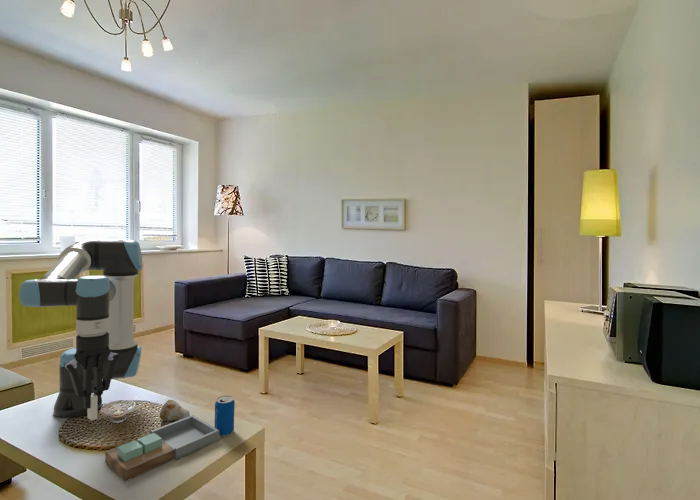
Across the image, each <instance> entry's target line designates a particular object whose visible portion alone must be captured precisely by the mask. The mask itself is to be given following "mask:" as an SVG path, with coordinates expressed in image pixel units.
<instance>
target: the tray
mask: <svg viewBox="0 0 700 500" xmlns="http://www.w3.org/2000/svg"><path fill="white" fill-rule="evenodd" d="M152 433H155V434H156V435H158V436H159V437H161V438H162V441H164V442H165V443H166V444H168V445H169V446H171V447H172V448H173V449H175V459H174V460H176V461H177V460H180V459H182V458H184V457H186V456H189V455H191V454H193V453H195V452H198V451H199V450H201V449H204V448H206V447H208V446H210V445H213V444H215V443H217V442H219V441H220V436H219V430H218V429H216V428H215V427H214V426H213V425H211V424H209V423H207V421H204V420H203V419H201V418H199V417H197V416H195V415H193V414H192V415H190V416H189V417H186V418H184V419H181V420H175V421H173V422H170V423H168V424H166V425H163V426H161V427H158V428H155V429H151V431H150V434H152Z"/></svg>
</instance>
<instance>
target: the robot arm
mask: <svg viewBox="0 0 700 500" xmlns="http://www.w3.org/2000/svg"><path fill="white" fill-rule="evenodd" d="M142 270H143V255H142V250H141V246H140V243H139V242H138V241H137V240H135V239H133V240H132V239H123V238H122V239H114V238H113V239H111V238H110V239H109V238H107V239H105V238H99V239H98V238H90V239H85V240H81V241H78V242H75V243H73V244H71V245H69V246H67V247H66V248H64V250H62V251H61V253H60V254H59V256H58V260H57V261H56V262H55V264H53V266H52V267H51V268H50V269H48V271H47V272H46V273H45V274H44V275H43V276H42V277H41V278H40V279H37V278H36V279H35V278H34V279H27V280H24V281H23V282H22V283H21V285H20V288H19V302H20V304H21V305H22V306H24V307H27V308H29V307H30V308H31V307H32V308H35V307H36V308H44V307H45V308H46V307H47V308H48V307H68V306H69V307H72V306H76V310H75V311H76V316H75V319H76V320H75V325H76V326H75V333H76V334H77V335H76V337H75V338H76V339H75V347H72V348H69V349H67V350H65V351H63V352H62V353H61V354H60V356H59V364H58V368H59V391H58V392H59V393H58V395H57V398H56V400H55V402H54V405H53V415H54V416H55V417H58V418H63V419H64V418H66V419H67V418H68V419H69V418H77V417H82V416H87V419H88V420H90V421H92V422H93V421H95V420H98V410H99V409H101V407H102V405H103V397H102V395H103V394H104V391H108V390H109V389H110V385H111V382H112V380H118V379H124V380H125V379H126V378H134V377H135V376H137V374H138V373H139V367H140V361H141V357H142V346H140V345H138V341H137V340H136V339H135V338H134V294H135V293H134V292H135V291H134V287H135V286H134V284H135V283H134V282H135V281H134V280H135V279H136V277H138V275H139V271H142ZM86 271H103V272H102V275H85V276H80V275H81V273H84V272H86ZM78 277H79V278H78Z"/></svg>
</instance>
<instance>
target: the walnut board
mask: <svg viewBox="0 0 700 500" xmlns="http://www.w3.org/2000/svg"><path fill="white" fill-rule="evenodd" d="M138 439H139V438H136V439H135V440H136V441H137V442H138ZM117 447H118V446H116V447H114V448H110V449H109V450H105V451H104V452H105V453H104V454H105V458H104V459H105V460H104V461H105V463H107V464H108V465H109V466H110V467H111V468H112V469H113V470H114V471H115V472H116V473H117V474H118V475H120V476H121V478H123V479H124V480H125V481H126V482H128V481H129V480H131V479H133V478H135V477H138V476H140V475H142V474H145V473H147V472H150V471H151V470H153V469H155V468H158V467H160V466H162V465H164V464H167V463H169V462H171V461H173V460H175V449H173V448H172V447H171V446H169V445H168V444H166V443H165V442H164V441H162V446H161V447H159V448H157V449H154V450H152V451H149V452H147V453H145V452H143V454H142V455H140V456H137V457H135V458H133V459H130V460H128V461H124V460H122V459H121V458H120V457H119V456H118V455H117Z"/></svg>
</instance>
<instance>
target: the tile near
mask: <svg viewBox="0 0 700 500" xmlns="http://www.w3.org/2000/svg"><path fill="white" fill-rule="evenodd" d="M136 440H137V439H134V440H132V441H129V442H127V443H124V444H121V445H118V446H116V447H117V455H118V456H119V457H120V458H121V459H122V460H124V461H128V460H130V459H133V458H135V457H137V456H140V455H142V454H143V446H142V445H141V444H139V443H138V442H137V441H136Z"/></svg>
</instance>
